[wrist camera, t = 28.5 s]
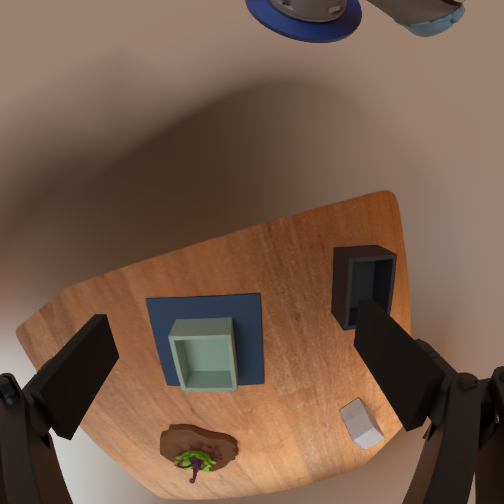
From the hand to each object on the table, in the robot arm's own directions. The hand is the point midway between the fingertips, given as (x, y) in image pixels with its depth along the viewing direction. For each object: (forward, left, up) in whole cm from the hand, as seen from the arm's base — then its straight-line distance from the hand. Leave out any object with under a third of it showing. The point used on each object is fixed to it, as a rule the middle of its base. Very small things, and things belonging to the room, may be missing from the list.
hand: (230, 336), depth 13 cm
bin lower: (+10, +20, -31) cm, 38 cm away
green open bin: (+21, -7, -31) cm, 38 cm away
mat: (+21, -7, -31) cm, 38 cm away
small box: (+45, +25, -31) cm, 60 cm away
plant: (+55, -15, -31) cm, 65 cm away
